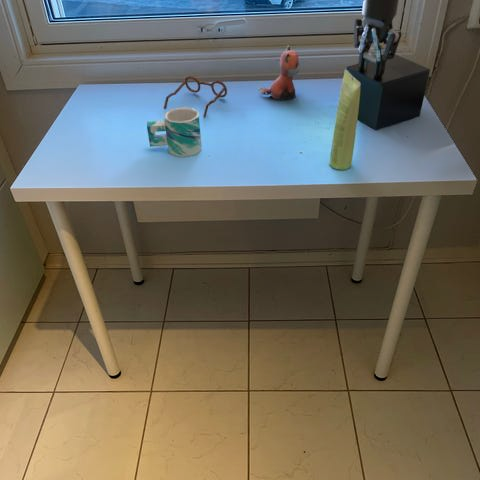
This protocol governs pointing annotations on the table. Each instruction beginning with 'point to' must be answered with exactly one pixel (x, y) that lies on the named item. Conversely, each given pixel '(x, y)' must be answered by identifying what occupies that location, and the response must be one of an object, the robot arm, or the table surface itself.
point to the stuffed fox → (284, 77)
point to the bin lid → (388, 69)
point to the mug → (177, 132)
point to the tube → (345, 123)
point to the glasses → (198, 91)
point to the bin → (390, 101)
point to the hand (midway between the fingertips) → (370, 72)
